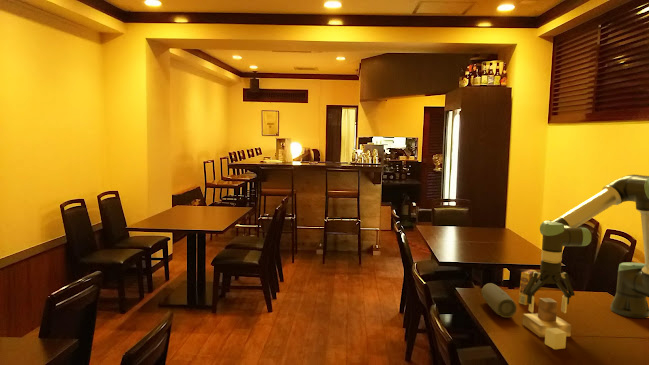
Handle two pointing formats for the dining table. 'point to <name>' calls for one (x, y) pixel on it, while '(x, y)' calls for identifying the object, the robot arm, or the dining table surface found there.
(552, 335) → the stoneware cube
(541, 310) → the walnut block
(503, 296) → the bluetooth speaker
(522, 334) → the dining table surface
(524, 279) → the candy box
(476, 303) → the dining table surface
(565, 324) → the beech block
